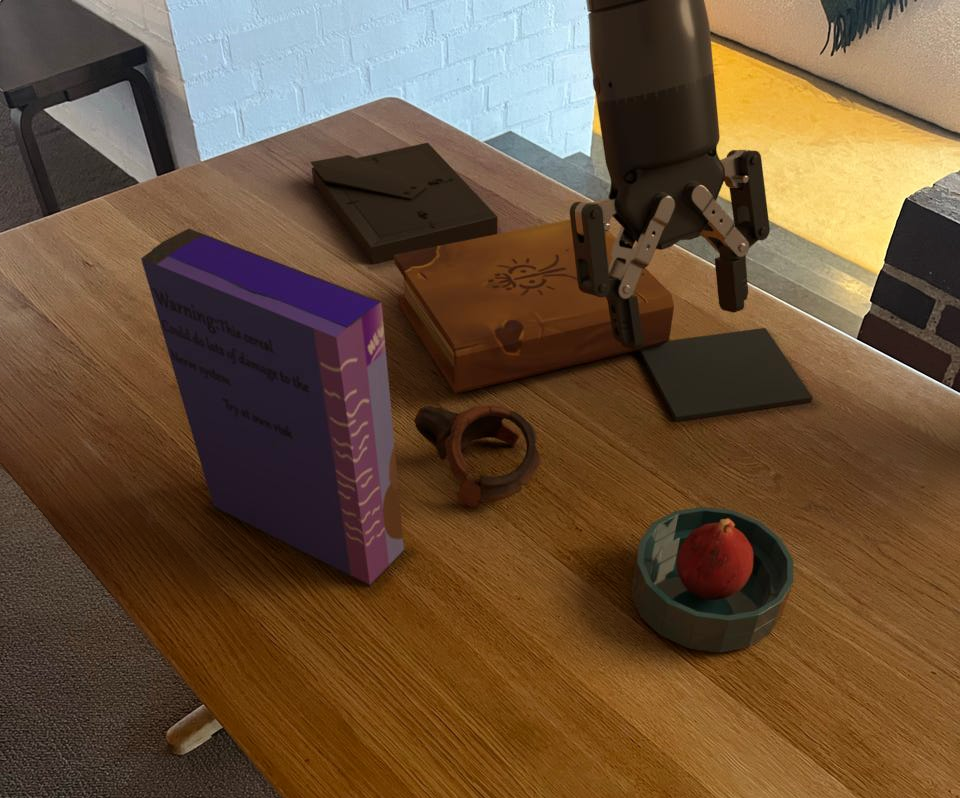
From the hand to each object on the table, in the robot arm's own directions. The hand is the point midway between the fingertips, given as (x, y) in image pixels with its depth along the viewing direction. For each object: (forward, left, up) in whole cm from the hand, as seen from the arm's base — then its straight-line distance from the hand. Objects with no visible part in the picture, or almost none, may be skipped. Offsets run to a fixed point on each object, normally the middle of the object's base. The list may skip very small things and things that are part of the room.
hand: (683, 328), depth 72 cm
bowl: (-1, +10, -19) cm, 22 cm away
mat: (-13, -18, -19) cm, 29 cm away
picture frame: (+13, -58, -19) cm, 62 cm away
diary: (+4, -30, -19) cm, 35 cm away
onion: (-1, +10, -18) cm, 21 cm away
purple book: (+30, -5, -19) cm, 36 cm away
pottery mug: (+14, -9, -19) cm, 25 cm away
